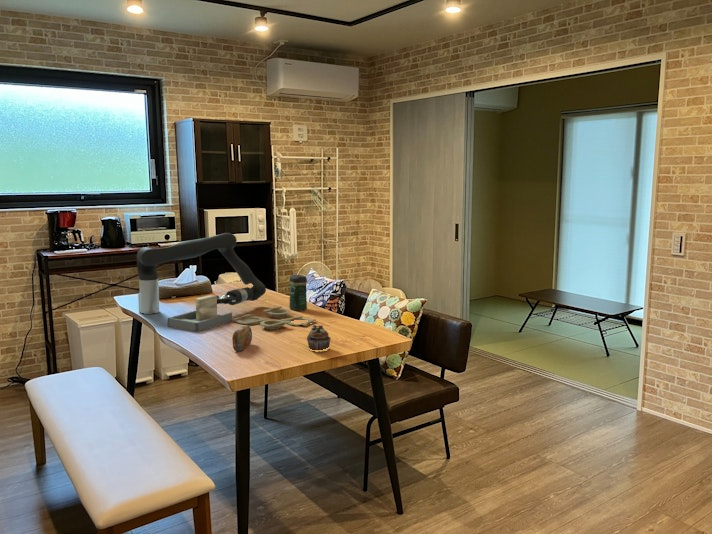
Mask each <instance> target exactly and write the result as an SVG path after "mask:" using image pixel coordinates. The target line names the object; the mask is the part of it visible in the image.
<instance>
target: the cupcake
mask: <svg viewBox="0 0 712 534" xmlns="http://www.w3.org/2000/svg"><path fill="white" fill-rule="evenodd" d="M331 339H332V338H331V337H330V336H329V332H328V331H327V330H325V328H324V326H323V325H314V324H313V326H312V327H311V328H310V331H309V332H308V334H307V337H306V341H307V344H308V349H309V348H310V349H312V350H323V349H326V348H328V347H329V348H330V345H331V344H330V343H331Z"/></svg>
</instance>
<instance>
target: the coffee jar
mask: <svg viewBox="0 0 712 534" xmlns="http://www.w3.org/2000/svg"><path fill="white" fill-rule="evenodd" d="M307 278H308V277H306V276H305V275H300V274H291V275H290V276H289V280H288V281H289V305H288V306H289V310H293V311H295V312H296V311H297V310H298V311H300V310H303V311H306V310H307V309H308V303H307V302H308V298H307V285H308V280H307ZM305 309H306V310H305Z"/></svg>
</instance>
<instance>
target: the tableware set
mask: <svg viewBox="0 0 712 534" xmlns="http://www.w3.org/2000/svg"><path fill="white" fill-rule="evenodd" d="M263 312H266V313H267V314H269V315H270V316H271V318H273V317H274V318H273V319H270V318H268V317H267V318H263V317H260V316H253V314H252V313H251V314H250V313H245V314H244V315H242V316H238V317H235V318H233V321H236V323H237V324H239V325H246V326H250V325H258V324H259V325H260V326H262V327H264V329H266V330H268V329H270V330H269V331H273V330H272V329H277V330H279V328H280V329H281V327H283V326H285V325H288V324H290V325H289V326H291V325H303V326H302V327H306V326H305V325H308V324H310V323H313V322H314V323H315V322H316V321H317V319H316V318H315V319H314V318H312V319H311V318H305V317H304V318H303V315H301V316H293V317H288V318H285V316H286V317H287V315H288V314H290V312H291V309H287V308H283V307H282V305H279V306H276V307H272V308H267V309H266V308H264V309H263ZM281 317H284V318H281ZM294 320H308V322H306V323H301V324H294V323H291V321H294ZM314 323H313V324H314ZM308 326H309V325H308Z"/></svg>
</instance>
